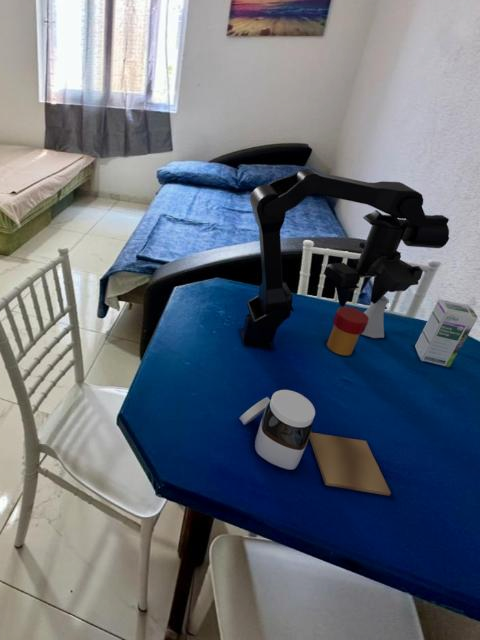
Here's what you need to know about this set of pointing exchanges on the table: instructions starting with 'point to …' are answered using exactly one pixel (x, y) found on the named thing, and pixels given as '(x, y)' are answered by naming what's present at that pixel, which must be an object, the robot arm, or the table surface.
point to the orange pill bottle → (342, 341)
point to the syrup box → (445, 332)
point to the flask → (376, 319)
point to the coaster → (348, 464)
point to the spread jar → (282, 427)
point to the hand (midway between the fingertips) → (357, 304)
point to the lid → (350, 320)
